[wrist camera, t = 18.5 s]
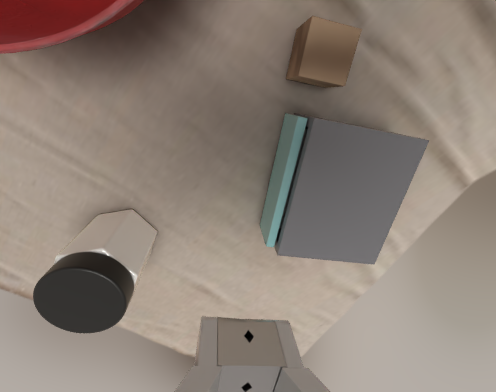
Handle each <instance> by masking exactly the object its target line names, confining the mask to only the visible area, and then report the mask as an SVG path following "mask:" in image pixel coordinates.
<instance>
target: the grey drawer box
mask: <svg viewBox="0 0 496 392" xmlns="http://www.w3.org/2000/svg"><path fill="white" fill-rule="evenodd" d="M294 115H296V116H300V117H304V118H308V119H307V123H306V126H305V129H308V131H307V135H306V138H305V142H304V146H303V150H302V153H301V157H300V161H299V165H298V169H297V172H296V176H295V180H294V184H293V187H292V191H291V195H290V199H289V202H288V206H287V210H286V214H285V218H284V221H283V225H282V228H279V230H278V234H277V238H276V241H275V245H274V247H275V250H276V252H277V255H280V256H291V257H301V258H311V259H322V260H332V261H343V262H353V263H364V264H375V262H376V260H377V257H378V255H379V253H380V251H381V248H382V246H383V244H384V241H385V239H386V237H387V235H388V232H389V230H390V228H391V226H392V223H393V221H394V219H395V217H396V214H397V212H398V210H399V208H400V205H401V203H402V201H403V199H404V196H405V194H406V192H407V190H408V187H409V185H410V183H411V181H412V178H413V176H414V174H415V171H416V169H417V167H418V165H419V162H420V160H421V158H422V156H423V153H424V151H425V149H426V147H427V144H428V142H429V140H425V139H420V138H415V137H411V136H406V135H401V134H396V133H392V132H387V131H382V130H377V129H372V128H367V127H362V126H357V125H352V124H347V123H342V122H337V121H332V120H326V119H321V118H316V117H311V116H306V115H301V114H296V113H294Z"/></svg>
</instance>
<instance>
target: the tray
mask: <svg viewBox="0 0 496 392" xmlns="http://www.w3.org/2000/svg"><path fill="white" fill-rule="evenodd" d="M307 119H308V118H304V117H300V116H296V115H292V114H287V113H285V117H284V121H283V126H282V130H281V134H280V139H279V143H278V148H277V152H276V156H275V161H274V165H273V169H272V174H271V178H270V183H269V187H268V191H267V196H266V200H265V204H264V209H263V213H262V218H261V222H260V228H261V231H262V234H263V237H264V241H265V244H266V246H268V247H274V245H275V241H276V238H277V234H278V230H279V228H282V225H283V221H284V218H285V214H286V210H287V206H288V202H289V199H290V195H291V191H292V187H293V184H294V180H295V176H296V172H297V169H298V165H299V161H300V157H301V153H302V150H303V146H304V142H305V138H306V135H307V131H308V129H305V126H306V123H307Z"/></svg>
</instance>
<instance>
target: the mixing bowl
mask: <svg viewBox="0 0 496 392" xmlns="http://www.w3.org/2000/svg"><path fill="white" fill-rule="evenodd" d="M143 1H144V0H0V53H16V52H22V51H29V50H35V49H41V48H45V47H49V46H52V45H56V44H59V43H63V42H65V41H68V40H70V39H73V38H76V37H78V36H81V35H83V34H87V33H90V32H93V31H95V30H98V29H100V28H103V27H105V26H107V25H109V24H111V23H113V22H115V21H117V20H119V19H120V18H122V17H124V16H125V15H127V14H128V13H130V12H131V11H132V10H134V9H135V8H136V7H137V6H138V5H139V4H141V3H142V2H143Z"/></svg>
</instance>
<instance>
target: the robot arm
mask: <svg viewBox="0 0 496 392" xmlns="http://www.w3.org/2000/svg"><path fill="white" fill-rule="evenodd" d="M174 392H330V391H329V390H328V389H327V388H326V386H325V385H324V384H323V383H322V382H321V381H320V380H319V379H318V378H317V377H316V376H315V375H314V374H313V373H312V371H311V370H310V369H309V368H304V367H303V364H302V360H301V357H300V354H299V351H298V348H297V344H296V341H295V338H294V335H293V332H292V329H291V326H290V323H289V322H288V321H283V320H263V319H235V318H222V317H206V316H202V317H201V323H200V329H199V335H198V342H197V349H196V356H195V366H192V368H191V369H190V370H189V372H188V373H187V375H186V376H185V377H184V379H183V380H182V382H181V383H180V384H179V386H178V387H177V389H176V390H175V391H174Z"/></svg>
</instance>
